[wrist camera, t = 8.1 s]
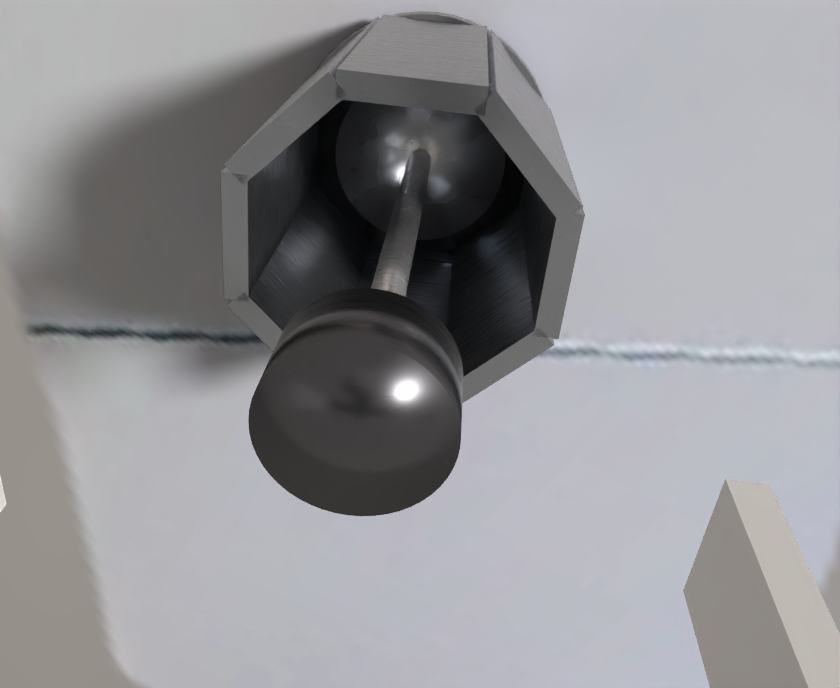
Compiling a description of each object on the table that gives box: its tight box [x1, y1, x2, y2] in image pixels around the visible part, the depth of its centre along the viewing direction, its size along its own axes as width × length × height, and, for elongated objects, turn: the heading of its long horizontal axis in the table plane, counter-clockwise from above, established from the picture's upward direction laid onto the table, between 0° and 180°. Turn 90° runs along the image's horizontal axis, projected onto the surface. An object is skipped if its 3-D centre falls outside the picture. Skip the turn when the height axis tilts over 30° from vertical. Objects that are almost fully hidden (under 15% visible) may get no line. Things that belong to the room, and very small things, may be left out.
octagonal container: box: [221, 11, 585, 403], centre depth 31 cm, size 14×11×13 cm
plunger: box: [249, 101, 505, 516], centre depth 25 cm, size 7×7×21 cm
